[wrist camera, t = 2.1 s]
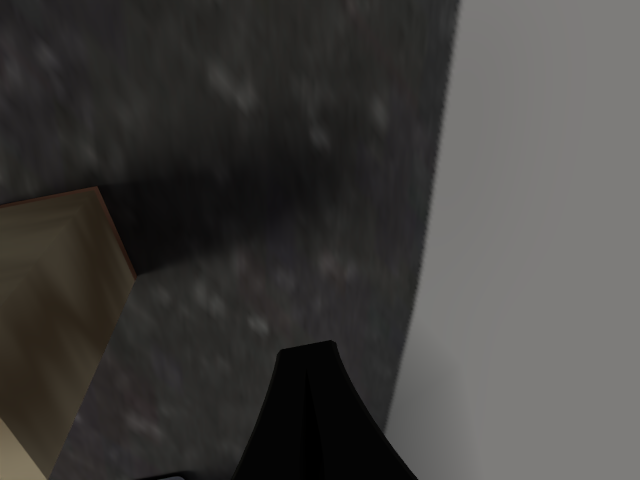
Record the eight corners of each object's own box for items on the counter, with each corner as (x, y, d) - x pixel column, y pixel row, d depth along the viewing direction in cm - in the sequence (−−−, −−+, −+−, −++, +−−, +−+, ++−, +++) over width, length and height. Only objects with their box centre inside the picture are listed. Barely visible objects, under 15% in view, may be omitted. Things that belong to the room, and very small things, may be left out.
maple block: (137, 275, 22) (47, 480, 13) (40, 294, 22) (-113, 510, 13) (97, 186, 20) (-43, 360, 11) (-11, 207, 20) (-236, 398, 11)
